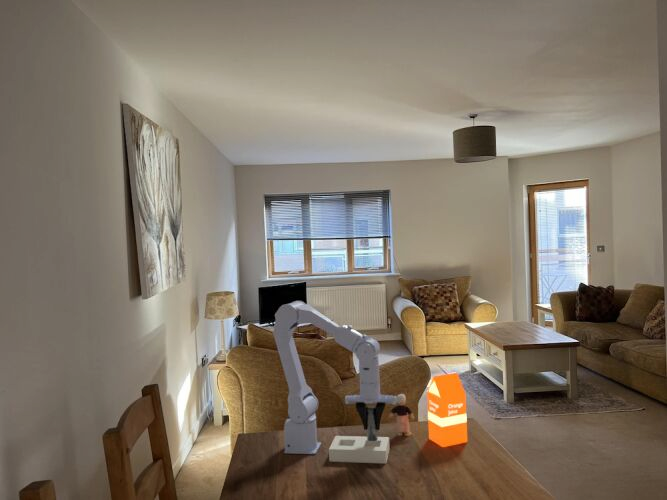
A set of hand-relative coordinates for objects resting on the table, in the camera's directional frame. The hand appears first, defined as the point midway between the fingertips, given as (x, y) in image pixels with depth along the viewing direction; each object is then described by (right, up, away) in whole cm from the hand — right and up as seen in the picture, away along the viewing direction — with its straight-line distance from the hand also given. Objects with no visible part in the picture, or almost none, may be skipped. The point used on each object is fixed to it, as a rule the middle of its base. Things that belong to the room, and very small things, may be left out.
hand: (372, 428), depth 150 cm
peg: (0, -3, 0) cm, 3 cm away
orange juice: (+24, -7, +9) cm, 26 cm away
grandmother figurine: (+11, -7, +15) cm, 20 cm away
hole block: (-3, -8, +1) cm, 9 cm away
